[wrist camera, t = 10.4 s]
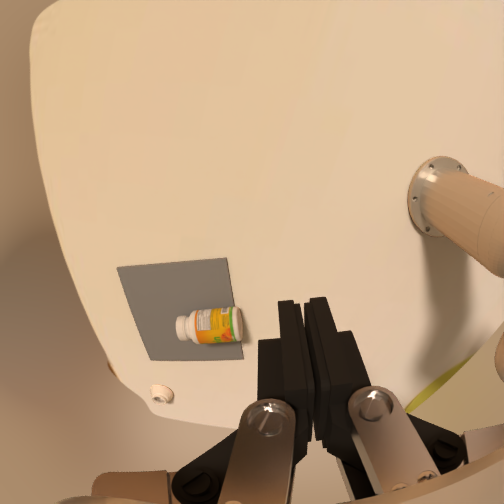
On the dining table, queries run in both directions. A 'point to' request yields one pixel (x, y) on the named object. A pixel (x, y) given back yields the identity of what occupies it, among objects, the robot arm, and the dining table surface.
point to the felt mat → (178, 306)
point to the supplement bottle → (211, 326)
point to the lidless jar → (161, 394)
